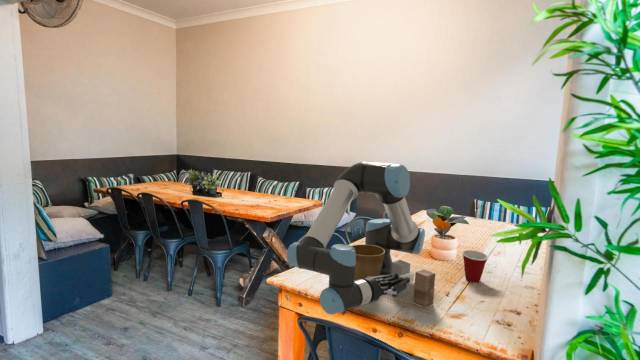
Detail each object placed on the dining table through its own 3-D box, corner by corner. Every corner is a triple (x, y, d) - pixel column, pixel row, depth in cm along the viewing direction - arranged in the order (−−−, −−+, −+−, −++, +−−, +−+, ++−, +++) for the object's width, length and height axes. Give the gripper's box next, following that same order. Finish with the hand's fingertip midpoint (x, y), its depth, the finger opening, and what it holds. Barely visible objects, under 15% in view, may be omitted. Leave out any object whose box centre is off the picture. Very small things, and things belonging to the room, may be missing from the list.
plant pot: (358, 278, 157) (360, 242, 156) (389, 287, 148) (391, 249, 146) (338, 288, 146) (339, 249, 144) (370, 299, 137) (372, 258, 135)
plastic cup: (470, 286, 153) (472, 258, 152) (454, 276, 163) (456, 250, 162) (492, 284, 156) (494, 257, 155) (475, 275, 166) (477, 249, 165)
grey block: (400, 295, 141) (402, 265, 140) (390, 291, 145) (392, 262, 144) (408, 292, 144) (410, 263, 143) (398, 288, 148) (400, 259, 147)
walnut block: (424, 308, 131) (426, 276, 130) (413, 303, 135) (415, 271, 133) (432, 305, 134) (435, 273, 133) (421, 300, 138) (423, 269, 137)
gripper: (349, 295, 119) (397, 281, 134) (378, 310, 109) (426, 293, 124) (350, 273, 119) (398, 261, 133) (380, 286, 108) (428, 272, 123)
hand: (412, 276), depth 128 cm, fingers closed
